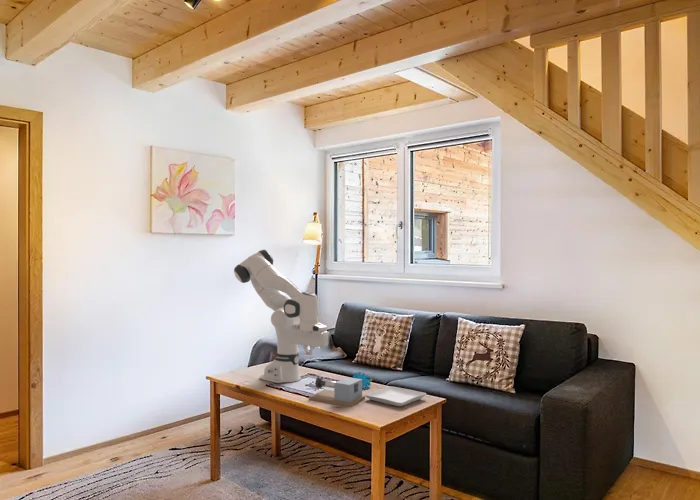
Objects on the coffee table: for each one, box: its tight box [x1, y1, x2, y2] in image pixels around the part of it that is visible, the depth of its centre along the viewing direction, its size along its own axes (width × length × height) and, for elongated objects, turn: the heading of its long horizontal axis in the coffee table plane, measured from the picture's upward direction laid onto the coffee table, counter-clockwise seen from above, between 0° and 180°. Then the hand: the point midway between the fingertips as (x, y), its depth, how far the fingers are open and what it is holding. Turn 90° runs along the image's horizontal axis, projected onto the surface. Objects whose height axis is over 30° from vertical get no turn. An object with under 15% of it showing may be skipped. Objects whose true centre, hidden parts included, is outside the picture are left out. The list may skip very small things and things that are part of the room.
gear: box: [352, 371, 373, 391], centre depth 268 cm, size 11×6×10 cm
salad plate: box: [364, 385, 427, 407], centre depth 246 cm, size 21×21×3 cm
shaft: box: [314, 376, 336, 389], centre depth 248 cm, size 14×5×5 cm, turn 61°
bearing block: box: [308, 376, 366, 407], centre depth 246 cm, size 22×14×9 cm, turn 61°
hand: (308, 354), depth 254 cm, fingers closed
